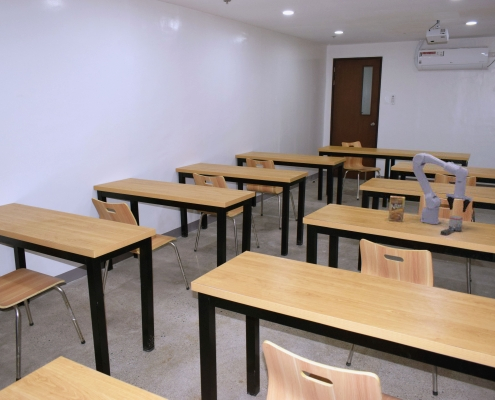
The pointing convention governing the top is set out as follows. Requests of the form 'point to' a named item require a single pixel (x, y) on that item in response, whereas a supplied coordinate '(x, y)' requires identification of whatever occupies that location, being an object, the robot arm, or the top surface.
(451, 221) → the red-striped grey block
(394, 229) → the top surface
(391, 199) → the candy box
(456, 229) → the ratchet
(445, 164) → the robot arm
